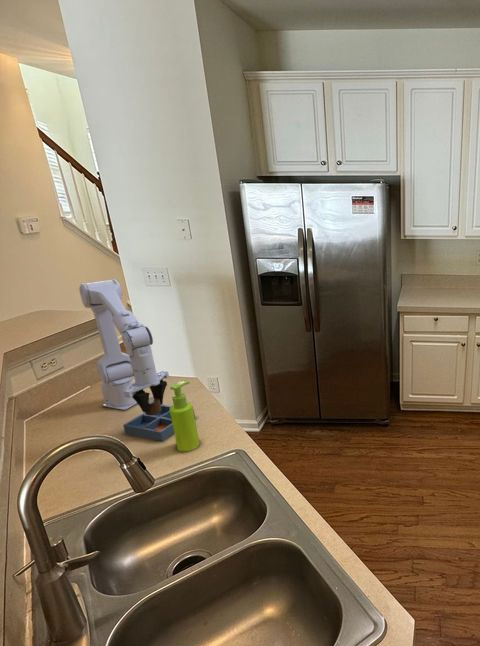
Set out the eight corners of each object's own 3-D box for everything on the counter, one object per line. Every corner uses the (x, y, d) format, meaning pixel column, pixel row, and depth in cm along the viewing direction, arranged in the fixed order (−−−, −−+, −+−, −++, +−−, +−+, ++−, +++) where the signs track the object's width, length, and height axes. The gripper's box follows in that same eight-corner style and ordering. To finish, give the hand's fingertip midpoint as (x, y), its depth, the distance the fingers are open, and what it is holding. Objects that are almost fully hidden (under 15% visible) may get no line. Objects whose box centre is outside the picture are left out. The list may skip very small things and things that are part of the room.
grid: (125, 433, 133) (123, 425, 132) (160, 411, 145) (159, 403, 144) (162, 441, 129) (160, 432, 128) (195, 418, 142) (193, 410, 141)
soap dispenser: (206, 440, 130) (195, 381, 123) (188, 453, 124) (176, 391, 117) (190, 436, 132) (179, 377, 125) (172, 449, 126) (159, 388, 119)
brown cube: (142, 414, 130) (139, 402, 129) (153, 407, 134) (151, 396, 133) (153, 416, 129) (151, 404, 128) (165, 409, 133) (162, 398, 132)
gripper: (133, 379, 119) (143, 421, 124) (173, 359, 132) (181, 399, 137) (113, 375, 120) (124, 418, 125) (154, 357, 133) (163, 395, 138)
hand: (152, 407), depth 131 cm, fingers closed on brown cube, 4 cm apart
